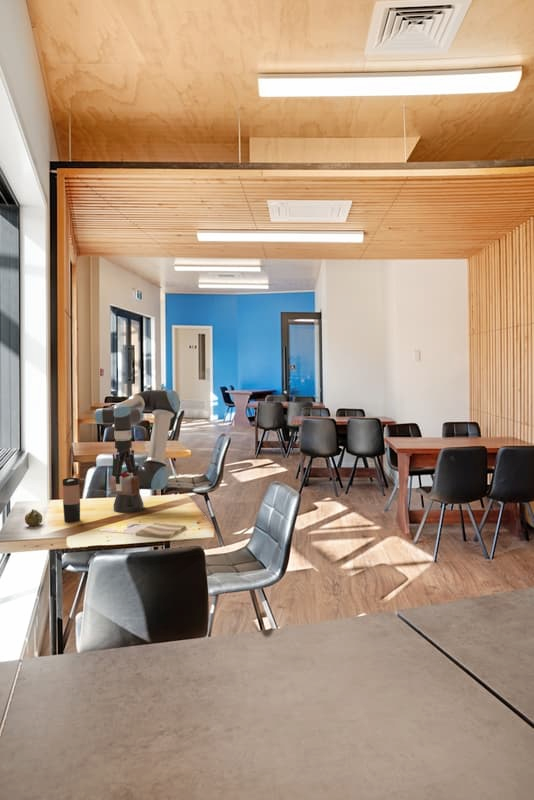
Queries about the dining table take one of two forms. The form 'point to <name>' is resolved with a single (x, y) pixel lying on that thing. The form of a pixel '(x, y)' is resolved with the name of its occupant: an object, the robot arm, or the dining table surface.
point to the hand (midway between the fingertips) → (124, 488)
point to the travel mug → (71, 500)
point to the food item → (126, 485)
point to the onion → (33, 518)
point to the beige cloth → (161, 530)
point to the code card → (129, 528)
